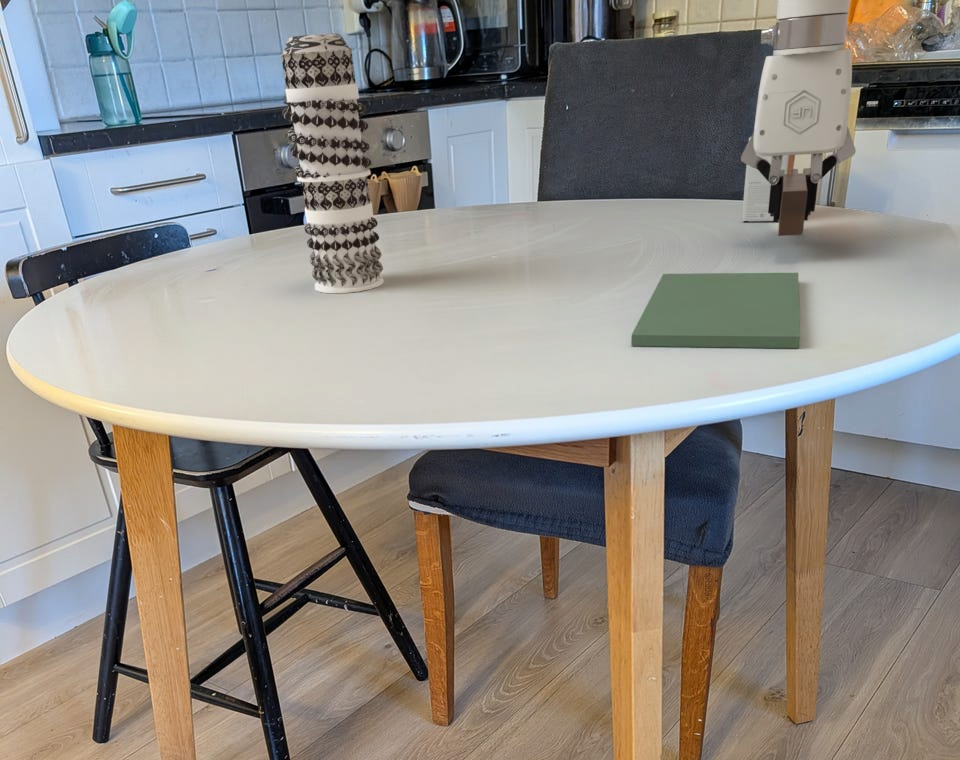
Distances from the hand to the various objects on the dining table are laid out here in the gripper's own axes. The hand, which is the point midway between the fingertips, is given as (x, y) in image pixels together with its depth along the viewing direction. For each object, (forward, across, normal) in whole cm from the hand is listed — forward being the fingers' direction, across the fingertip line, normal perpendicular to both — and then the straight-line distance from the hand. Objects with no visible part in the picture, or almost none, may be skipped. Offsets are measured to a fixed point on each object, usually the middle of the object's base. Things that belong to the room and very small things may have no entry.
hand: (790, 217), depth 106 cm
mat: (+3, -6, -32) cm, 33 cm away
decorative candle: (+3, -50, -20) cm, 55 cm away
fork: (0, 0, 0) cm, 1 cm away
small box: (+3, -3, +20) cm, 21 cm away
